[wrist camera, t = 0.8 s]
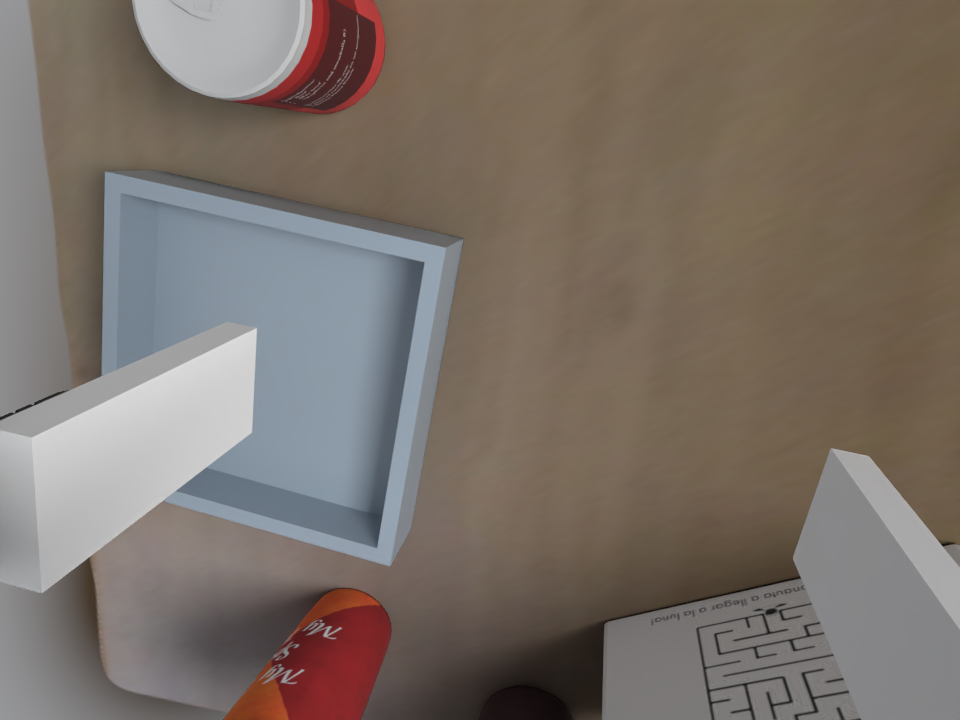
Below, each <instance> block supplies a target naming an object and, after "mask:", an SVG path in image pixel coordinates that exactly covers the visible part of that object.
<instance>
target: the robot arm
mask: <svg viewBox="0 0 960 720" xmlns="http://www.w3.org/2000/svg"><path fill="white" fill-rule="evenodd" d="M256 339H257V328H255V327H251V326H246V325H241V324H236V323H232V322H225V323H223V324H221V325H219V326H216V327H214V328H212V329H209V330H207V331H205V332H202V333H200V334H198V335H196V336H193V337H191V338H189V339H186V340H184V341H182V342H179V343H177V344H175V345H173V346H170V347H168V348H166V349H163V350H161V351H159V352H156V353H154V354H152V355H150V356H147V357H145V358H143V359H140V360H138V361H136V362H133V363H131V364H129V365H127V366H124V367H122V368H120V369H117V370H115V371H113V372H111V373H108V374H106V375H104V376H101V377H99V378H97V379H94V380H92V381H90V382H88V383H85V384H83V385H81V386H78V387H76V388H74V389H71V390H67V391H62V392H58V393H56V394H53V395H51V396H48V397H46V398H44V399H42V400H39V401H37V402H35V403H34V405H28V406H25V407H23V408H21V409H18V410H16V412H15V413H9V414H7V415H4V416H2V417H0V582H3V583H7V584H10V585H14V586H17V587H21V588H25V589H28V590H32V591H35V592H39V593H43V592H44V591H45V590H47V589H48V588H49V587H51V586H52V585H53V584H55V583H56V582H57V581H59V580H60V579H61V578H63V577H64V576H65V575H66V574H67V573H69V572H70V571H72V570H73V569H74V568H76V567H77V566H78V565H79V564H81V563H82V562H83V561H85V560H86V559H87V558H89V557H90V556H91V555H93V554H94V553H95V552H97V551H98V550H99V549H100V548H102V547H103V546H104V545H106V544H107V543H108V542H110V541H111V540H112V539H113V538H115V537H116V536H117V535H119V534H120V533H121V532H123V531H124V530H125V529H127V528H128V527H129V526H130V525H132V524H133V523H134V522H136V521H137V520H138V519H140V518H141V517H142V516H144V515H145V514H146V513H147V512H149V511H150V510H151V509H153V508H154V507H155V506H157V505H158V504H159V503H161V502H162V501H163V500H164V499H166V498H167V497H168V496H170V495H171V494H172V493H174V492H175V491H176V490H178V489H179V488H180V487H181V486H183V485H184V484H185V483H187V482H188V481H189V480H191V479H192V478H193V477H194V476H196V475H197V474H198V473H200V472H201V471H202V470H204V469H205V468H206V467H208V466H209V465H210V464H211V463H213V462H214V461H215V460H217V459H218V458H219V457H221V456H222V455H223V454H225V453H226V452H227V451H228V450H230V449H231V448H232V447H234V446H235V445H236V444H238V443H239V442H240V441H242V440H243V439H244V438H245V437H247V436H248V435H249V434H251V433H252V423H253V402H254V381H255V360H256ZM793 560H794V563H795V565H796V567H797V570H798V572H799V575H800V577H801V579H802V582H803V584H804V586H805V589H806V591H807V593H808V596H809V598H810V600H811V603H812V605H813V608H814V610H815V612H816V615H817V617H818V619H819V622H820V624H821V626H822V629H823V631H824V633H825V636H826V638H827V641H828V643H829V645H830V648H831V650H832V652H833V655H834V657H835V659H836V662H837V664H838V666H839V669H840V671H841V674H842V676H843V678H844V681H845V683H846V685H847V688H848V690H849V692H850V695H851V697H852V700H853V702H854V704H855V707H856V709H857V711H858V714H859V716H860V718H861V720H960V567H959V566H958V565H957V564H956V562H955V561H954V560H953V559H952V558H951V556H950V555H949V554H948V553H947V551H946V550H945V549H944V548H943V546H942V545H941V544H940V543H939V542H938V540H937V539H936V538H935V537H934V535H933V534H932V533H931V532H930V531H929V529H928V528H927V527H926V526H925V524H924V523H923V522H922V521H921V519H920V518H919V517H918V516H917V515H916V513H915V512H914V511H913V510H912V508H911V507H910V506H909V505H908V504H907V502H906V501H905V500H904V499H903V497H902V496H901V495H900V494H899V493H898V491H897V490H896V489H895V488H894V486H893V485H892V484H891V483H890V481H889V480H888V479H887V478H886V477H885V475H884V474H883V473H882V472H881V470H880V469H879V468H878V467H877V466H876V464H875V463H874V462H873V461H872V459H871V458H870V457H869V456H866V455H861V454H856V453H851V452H847V451H842V450H837V449H832V448H831V449H830V452H829V455H828V458H827V461H826V464H825V467H824V469H823V472H822V475H821V478H820V481H819V484H818V487H817V490H816V492H815V495H814V498H813V501H812V504H811V507H810V510H809V513H808V515H807V518H806V521H805V524H804V527H803V530H802V533H801V536H800V538H799V541H798V544H797V547H796V550H795V553H794V556H793Z"/></svg>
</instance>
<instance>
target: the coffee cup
mask: <svg viewBox="0 0 960 720" xmlns="http://www.w3.org/2000/svg"><path fill="white" fill-rule="evenodd" d="M390 637H391V623H390V619H389V616H388V614H387V612H386V611H385V609H384V608H383V606H382V605H381V604H380V603H379V602H378V601H377V600H376V599H374V598H373V597H372V596H370V595H368V594H366V593H364V592H362V591H359V590H356V589H350V588H341V589H336V590H333V591H330V592H328V593H327V594H325V595H324V596H323V597H322V598H321V599H320V600H319V601H318V602H317V603H316V604H315V605H314V606H313V608H312V609H311V610H310V611H309V612H308V614H307V615H306V616H305V617H304V619H303V620H302V621H301V622H300V623H299V625H298V626H297V627H296V628H295V630H294V631H293V632H292V633H291V635H290V636H289V637H288V638H287V640H286V641H285V642H284V643H283V645H282V646H281V647H280V648H279V650H278V651H277V652H276V653H275V655H274V656H273V657H272V658H271V660H270V661H269V662H268V664H267V665H266V666H265V667H264V669H263V670H262V671H261V672H260V674H259V675H258V676H257V677H256V679H255V680H254V681H253V682H252V684H251V685H250V686H249V688H248V689H247V690H246V691H245V693H244V694H243V695H242V696H241V698H240V699H239V700H238V701H237V703H236V704H235V705H234V706H233V708H232V709H231V710H230V712H229V713H228V714H227V715H226V717H225V718H224V719H223V720H361V718H362V716H363V713H364V710H365V708H366V705H367V702H368V700H369V697H370V694H371V692H372V689H373V686H374V684H375V681H376V678H377V675H378V673H379V670H380V667H381V665H382V662H383V659H384V656H385V653H386V650H387V648H388V644H389V641H390Z"/></svg>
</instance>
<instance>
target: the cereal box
mask: <svg viewBox="0 0 960 720" xmlns="http://www.w3.org/2000/svg"><path fill="white" fill-rule="evenodd" d="M943 548H944V549H945V550H946V551H947V553H948V554H949V555H950V556H951V558H952V559H953V560H954V561H955V562H956V564H957V565H958V566H959V567H960V545H957V544H951V545H947V546H943ZM602 720H861V718H860V716H859V714H858V711H857V709H856V707H855V704H854V702H853V700H852V697H851V695H850V692H849V690H848V688H847V685H846V683H845V681H844V678H843V676H842V674H841V671H840V669H839V666H838V664H837V662H836V659H835V657H834V655H833V652H832V650H831V648H830V645H829V643H828V641H827V638H826V636H825V633H824V631H823V629H822V626H821V624H820V622H819V619H818V617H817V615H816V612H815V610H814V608H813V605H812V603H811V600H810V598H809V596H808V593H807V591H806V589H805V586H804V584H803V582H802V579H801V578H800V579H795V580H791V581H786V582H782V583H778V584H773V585H769V586H764V587H760V588H755V589H751V590H746V591H742V592H738V593H733V594H729V595H724V596H720V597H715V598H711V599H706V600H702V601H697V602H693V603H689V604H684V605H680V606H675V607H671V608H666V609H662V610H657V611H653V612H648V613H644V614H640V615H635V616H631V617H626V618H622V619H617V620H613V621H608V622H607V623H605V625H604V656H603V698H602Z"/></svg>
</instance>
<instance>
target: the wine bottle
mask: <svg viewBox="0 0 960 720" xmlns="http://www.w3.org/2000/svg"><path fill="white" fill-rule="evenodd" d="M479 720H573V718H572V716H571V714H570V712H569V711H568V709H567V708H566V707H565V706H564V705H563V704H562V703H561V702H560V701H559V700H558V699H556V698H555V697H554V696H552V695H550V694H548V693H546V692H544V691H541V690H538V689H535V688H529V687H513V688H508V689H505V690H502V691H500V692H498V693H496V694H495V695H493V696H492V697H491V698H490V699H489V700H488V701H487V703H486V705H485V706H484V708H483V709H482V711H481V713H480V716H479Z"/></svg>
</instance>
